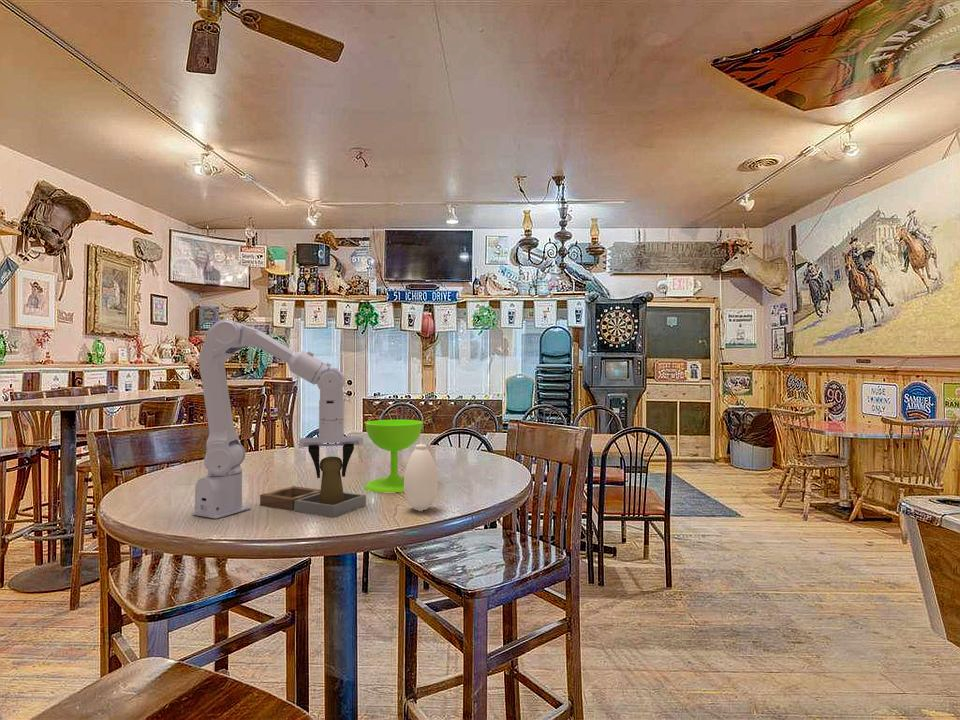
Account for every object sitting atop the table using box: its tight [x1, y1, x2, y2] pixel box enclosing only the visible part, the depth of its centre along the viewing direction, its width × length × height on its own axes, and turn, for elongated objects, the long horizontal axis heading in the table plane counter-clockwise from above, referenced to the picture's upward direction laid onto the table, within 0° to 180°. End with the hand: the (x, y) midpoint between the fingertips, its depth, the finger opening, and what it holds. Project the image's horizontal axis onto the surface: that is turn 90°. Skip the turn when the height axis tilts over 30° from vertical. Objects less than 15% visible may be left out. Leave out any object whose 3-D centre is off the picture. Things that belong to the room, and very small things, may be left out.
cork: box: [319, 456, 345, 505], centre depth 127 cm, size 6×6×11 cm
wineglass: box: [364, 419, 424, 493], centre depth 150 cm, size 16×16×18 cm
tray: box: [293, 491, 367, 518], centre depth 127 cm, size 12×12×2 cm
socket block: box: [259, 485, 321, 511], centre depth 132 cm, size 11×11×2 cm
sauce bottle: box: [403, 433, 439, 512], centre depth 126 cm, size 8×8×18 cm
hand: (331, 476), depth 127 cm, fingers closed on cork, 5 cm apart
